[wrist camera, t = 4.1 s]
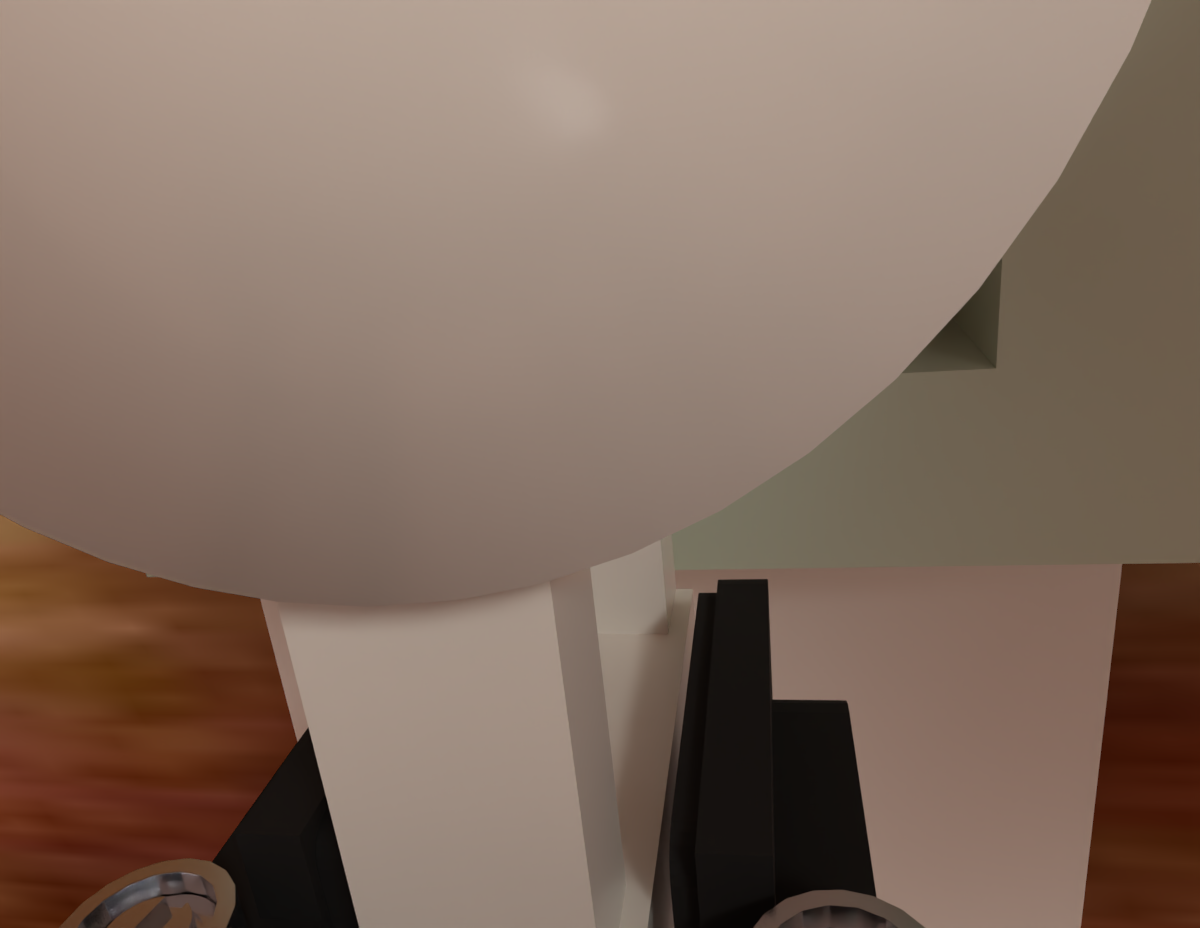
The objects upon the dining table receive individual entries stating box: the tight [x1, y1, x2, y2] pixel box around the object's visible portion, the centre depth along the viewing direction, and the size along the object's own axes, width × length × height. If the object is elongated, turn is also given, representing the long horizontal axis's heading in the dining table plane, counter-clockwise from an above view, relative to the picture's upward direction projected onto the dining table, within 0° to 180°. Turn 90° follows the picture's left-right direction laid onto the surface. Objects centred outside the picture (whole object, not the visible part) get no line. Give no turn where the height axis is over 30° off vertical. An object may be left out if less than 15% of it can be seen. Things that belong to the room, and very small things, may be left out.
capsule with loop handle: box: [0, 0, 1151, 928], centre depth 9 cm, size 13×7×10 cm, turn 6°
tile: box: [260, 564, 1122, 928], centre depth 18 cm, size 14×14×1 cm
